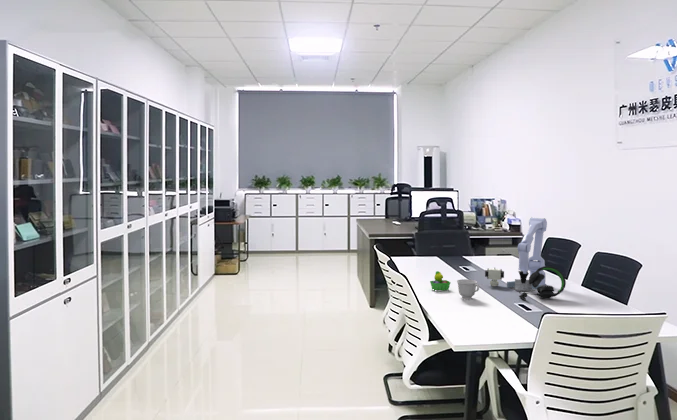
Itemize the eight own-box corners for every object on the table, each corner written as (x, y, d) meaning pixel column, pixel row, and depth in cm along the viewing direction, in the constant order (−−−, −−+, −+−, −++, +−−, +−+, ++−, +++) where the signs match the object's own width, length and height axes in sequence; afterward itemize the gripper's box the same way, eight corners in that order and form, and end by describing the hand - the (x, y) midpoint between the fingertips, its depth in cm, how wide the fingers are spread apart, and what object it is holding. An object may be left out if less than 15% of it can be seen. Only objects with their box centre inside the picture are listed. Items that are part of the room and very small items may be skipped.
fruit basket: (434, 291, 303) (434, 273, 302) (428, 288, 312) (428, 271, 311) (451, 290, 305) (451, 272, 304) (445, 287, 314) (445, 270, 313)
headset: (527, 312, 286) (569, 288, 287) (532, 308, 274) (576, 283, 275) (509, 286, 293) (550, 263, 294) (513, 281, 281) (556, 257, 282)
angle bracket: (531, 289, 307) (531, 279, 306) (532, 291, 301) (533, 281, 301) (514, 288, 309) (514, 279, 309) (515, 290, 303) (515, 281, 303)
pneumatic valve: (503, 287, 314) (504, 268, 313) (484, 285, 317) (485, 267, 316) (503, 285, 319) (504, 267, 318) (485, 284, 323) (485, 266, 322)
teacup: (471, 302, 276) (471, 285, 275) (452, 297, 288) (452, 280, 288) (485, 299, 282) (485, 283, 281) (466, 294, 295) (466, 278, 294)
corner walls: (524, 285, 318) (524, 280, 318) (540, 290, 304) (541, 285, 304) (506, 287, 314) (506, 281, 314) (522, 292, 300) (522, 286, 299)
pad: (523, 286, 315) (523, 286, 315) (536, 290, 303) (536, 290, 303) (509, 287, 311) (509, 287, 311) (522, 292, 300) (522, 291, 300)
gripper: (532, 264, 298) (531, 285, 299) (528, 260, 312) (528, 280, 313) (519, 263, 300) (519, 285, 301) (517, 259, 314) (516, 280, 315)
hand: (523, 282), depth 307 cm, fingers closed on angle bracket
